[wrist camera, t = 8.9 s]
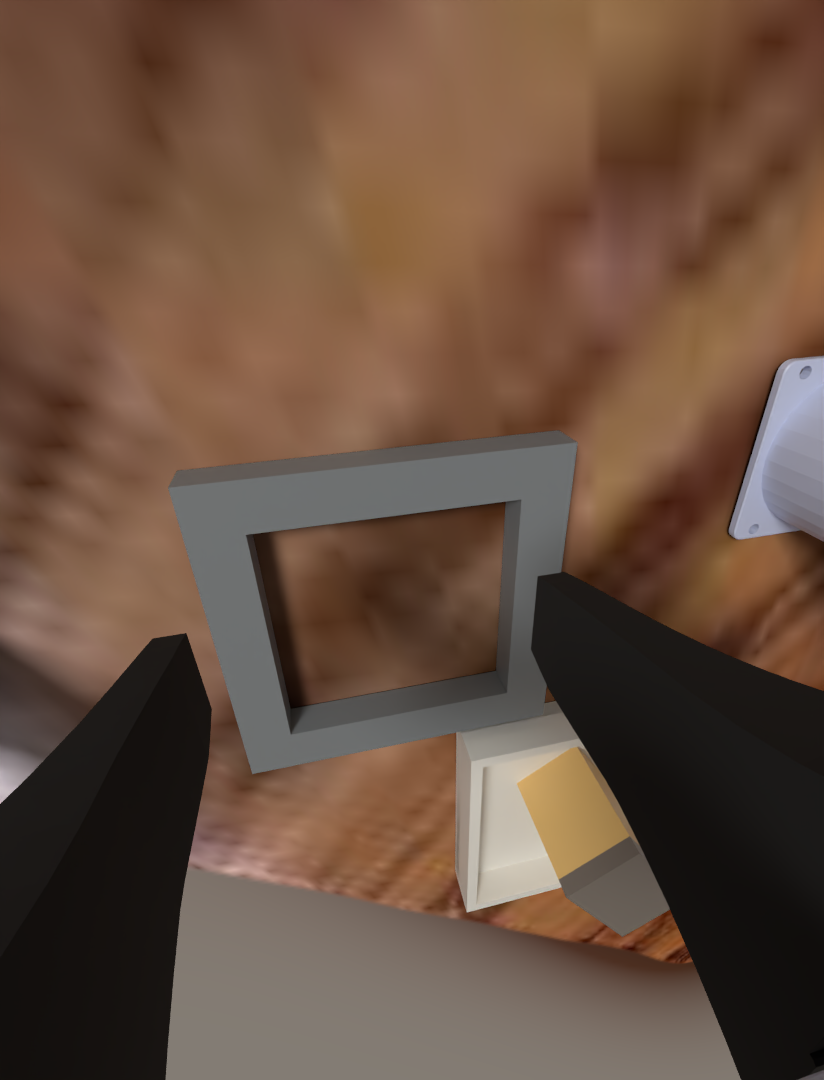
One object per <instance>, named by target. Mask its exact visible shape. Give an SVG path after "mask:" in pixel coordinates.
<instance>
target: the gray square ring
mask: <svg viewBox="0 0 824 1080" xmlns="http://www.w3.org/2000/svg"><path fill="white" fill-rule="evenodd" d="M577 443H578V442H576V441H575V440H573V439H571V438H570V437H568V436H567V435H565V434H564V433H562V432H560V431H559V430H558V431H548V432H539V433H529V434H520V435H510V436H501V437H492V438H482V439H473V440H463V441H454V442H444V443H435V444H426V445H416V446H407V447H397V448H388V449H378V450H369V451H359V452H350V453H341V454H331V455H322V456H312V457H303V458H293V459H284V460H275V461H265V462H256V463H246V464H237V465H227V466H218V467H209V468H199V469H190V470H180V471H177V472H176V474H175V476H174V478H173V479H172V481H171V483H170V485H169V487H168V489H169V492H170V496H171V499H172V503H173V506H174V509H175V513H176V516H177V519H178V523H179V526H180V530H181V533H182V536H183V540H184V543H185V547H186V550H187V553H188V557H189V560H190V564H191V567H192V570H193V574H194V577H195V581H196V584H197V587H198V591H199V594H200V598H201V601H202V604H203V608H204V611H205V615H206V618H207V621H208V625H209V628H210V631H211V635H212V638H213V642H214V645H215V648H216V652H217V655H218V659H219V662H220V665H221V669H222V672H223V676H224V679H225V682H226V686H227V689H228V693H229V696H230V699H231V703H232V706H233V710H234V713H235V716H236V720H237V723H238V726H239V730H240V733H241V737H242V740H243V743H244V747H245V750H246V754H247V757H248V760H249V764H250V767H251V771H252V774H254V773H259V772H264V771H269V770H274V769H279V768H284V767H289V766H294V765H299V764H304V763H309V762H313V761H318V760H323V759H328V758H333V757H338V756H343V755H348V754H353V753H358V752H363V751H367V750H372V749H377V748H382V747H387V746H392V745H397V744H402V743H407V742H412V741H417V740H421V739H426V738H431V737H436V736H441V735H446V734H451V733H456V732H461V731H466V730H471V729H476V728H480V727H485V726H490V725H495V724H500V723H505V722H510V721H515V720H520V719H525V718H530V717H534V716H539V715H543V711H544V703H545V695H546V687H547V684H546V682H545V680H544V678H543V676H542V674H541V672H540V669H539V667H538V665H537V662H536V660H535V658H534V656H533V653H532V651H531V642H532V631H533V620H534V610H535V599H536V588H537V578H538V576H542V575H548V574H554V573H560V572H561V569H562V561H563V553H564V545H565V538H566V530H567V522H568V514H569V506H570V498H571V490H572V483H573V475H574V467H575V459H576V451H577ZM498 502H506V507H505V524H504V541H503V558H502V575H501V592H500V609H499V626H498V643H497V660H496V671H492V672H487V673H482V674H476V675H471V676H465V677H460V678H455V679H449V680H444V681H438V682H433V683H428V684H422V685H417V686H412V687H406V688H401V689H395V690H390V691H385V692H379V693H374V694H368V695H363V696H358V697H352V698H347V699H341V700H336V701H331V702H325V703H320V704H314V705H309V706H304V707H298V708H293V709H291V708H290V704H289V699H288V695H287V690H286V685H285V681H284V676H283V672H282V667H281V662H280V658H279V653H278V649H277V644H276V639H275V635H274V630H273V625H272V621H271V616H270V612H269V607H268V602H267V598H266V593H265V589H264V584H263V579H262V575H261V570H260V566H259V561H258V556H257V552H256V547H255V542H254V538H253V534H257V533H264V532H272V531H280V530H288V529H296V528H303V527H311V526H319V525H327V524H335V523H342V522H350V521H358V520H366V519H373V518H381V517H389V516H397V515H405V514H412V513H420V512H428V511H436V510H444V509H451V508H459V507H467V506H475V505H483V504H490V503H498Z"/></svg>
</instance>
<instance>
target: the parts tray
mask: <svg viewBox="0 0 824 1080" xmlns="http://www.w3.org/2000/svg"><path fill="white" fill-rule="evenodd" d="M574 747H578V748H579V749H580V750H581V751H582V752H583V753H584V754H585V755H586V756H587V757H588V759H589V760H590V761H591V762H592V763H593V764H594V765H595V766H596V764H595V763H594V761H593V760H592V758H591V756H590V755H589V753H588V752H587V750H586V749H585V747H584V745H583V744H582V742H581V741H580V739H579V737H578V736H577V734H576V733H575V731H574V729H573V728H572V726H571V725H570V723H569V722H568V720H567V718H566V717H565V715H564V713H563V712H562V710H561V709H560V707H559V705H558V704H557V702H556V701H553V702H548V703H544V711H543V715H539V716H534V717H530V718H525V719H520V720H515V721H510V722H505V723H500V724H495V725H490V726H485V727H480V728H476V729H471V730H466V731H461V732H456V842H455V871H456V875H457V879H458V882H459V886H460V889H461V893H462V897H463V900H464V904H465V908H466V911H467V912H470V911H474V910H478V909H482V908H485V907H489V906H493V905H497V904H500V903H504V902H508V901H512V900H516V899H519V898H523V897H527V896H531V895H534V894H538V893H542V892H546V891H550V890H553V889H557V888H561V887H562V886H561V884H560V882H559V880H558V877H557V875H556V873H555V870H554V868H553V866H552V863H551V861H550V859H549V857H548V854H547V852H546V850H545V847H544V845H543V843H542V841H541V838H540V836H539V834H538V831H537V829H536V827H535V824H534V822H533V820H532V818H531V815H530V813H529V811H528V808H527V806H526V804H525V802H524V799H523V797H522V795H521V792H520V790H519V788H518V785H517V783H518V782H520V781H521V780H523V779H524V778H526V777H527V776H529V775H530V774H532V773H533V772H535V771H536V770H538V769H540V768H541V767H543V766H544V765H546V764H547V763H549V762H550V761H552V760H553V759H555V758H556V757H558V756H559V755H561V754H563V753H564V752H566V751H567V750H569V749H570V748H574ZM596 767H597V766H596Z"/></svg>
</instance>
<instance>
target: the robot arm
mask: <svg viewBox="0 0 824 1080" xmlns="http://www.w3.org/2000/svg"><path fill="white" fill-rule="evenodd" d="M802 369H803V371H802V372H801V370H802ZM800 372H801V374H800ZM799 530H802V531H804V532H806V533H808V534H810V535H812V536H813V537H815V538H817V539H819V540H821V541H823V542H824V356H818V357H806V358H795V359H789V360H787V361H785V362H784V363H782V365H781V366H780V367H779V368H778V371H777V373H776V376H775V379H774V383H773V386H772V389H771V393H770V396H769V399H768V402H767V406H766V409H765V412H764V416H763V419H762V422H761V425H760V429H759V432H758V435H757V439H756V442H755V445H754V448H753V452H752V455H751V458H750V462H749V465H748V468H747V471H746V475H745V478H744V481H743V484H742V488H741V491H740V494H739V498H738V501H737V504H736V507H735V511H734V514H733V517H732V521H731V524H730V527H729V534H730V535H731V536H733V537H734V538H736V539H740V540H741V539H747V538H754V537H760V536H767V535H773V534H780V533H786V532H793V531H799ZM531 651H532V653H533V656H534V658H535V660H536V662H537V665H538V667H539V669H540V672H541V674H542V676H543V678H544V680H545V682H546V684H547V686H548V689H549V690H550V692H551V694H552V695H553V697H554V699H555V700H556V702H557V704H558V705H559V707H560V709H561V710H562V712H563V713H564V715H565V717H566V718H567V720H568V722H569V723H570V725H571V726H572V728H573V729H574V731H575V733H576V734H577V736H578V737H579V739H580V741H581V742H582V744H583V745H584V747H585V749H586V750H587V752H588V753H589V755H590V756H591V758H592V760H593V761H594V763H595V764H596V766H597V768H598V769H599V771H600V772H601V774H602V776H603V777H604V779H605V780H606V782H607V784H608V786H609V787H610V789H611V791H612V792H613V794H614V796H615V798H616V799H617V801H618V803H619V805H620V807H621V809H622V811H623V813H624V815H625V817H626V819H627V821H628V823H629V825H630V827H631V829H632V831H633V833H634V835H635V837H636V839H637V841H638V843H639V845H640V847H641V849H642V851H643V853H644V855H645V857H646V859H647V861H648V864H649V866H650V868H651V870H652V872H653V874H654V876H655V878H656V880H657V883H658V885H659V887H660V889H661V891H662V893H663V895H664V897H665V899H666V902H667V904H668V906H669V908H670V910H671V913H672V915H673V917H674V920H675V922H676V924H677V926H678V929H679V931H680V933H681V935H682V938H683V940H684V942H685V944H686V947H687V949H688V951H689V953H690V956H691V958H692V960H693V962H694V965H695V967H696V969H697V972H698V974H699V976H700V979H701V981H702V984H703V986H704V988H705V991H706V993H707V996H708V998H709V1001H710V1003H711V1005H712V1008H713V1010H714V1013H715V1015H716V1018H717V1020H718V1023H719V1025H720V1027H721V1030H722V1032H723V1035H724V1037H725V1039H726V1042H727V1045H728V1047H729V1050H730V1052H731V1055H732V1057H733V1060H734V1063H735V1065H736V1067H737V1070H738V1073H739V1075H740V1078H741V1080H824V691H822V690H819V689H816V688H813V687H810V686H807V685H804V684H801V683H798V682H795V681H792V680H789V679H787V678H784V677H781V676H779V675H776V674H773V673H770V672H768V671H765V670H763V669H760V668H758V667H756V666H753V665H751V664H748V663H746V662H743V661H741V660H738V659H736V658H733V657H731V656H728V655H726V654H724V653H722V652H719V651H717V650H715V649H713V648H710V647H708V646H706V645H704V644H702V643H700V642H698V641H696V640H693V639H691V638H689V637H687V636H685V635H683V634H681V633H679V632H677V631H675V630H673V629H671V628H669V627H667V626H665V625H663V624H661V623H659V622H657V621H655V620H653V619H651V618H649V617H648V616H646V615H644V614H642V613H640V612H638V611H636V610H634V609H633V608H631V607H629V606H627V605H625V604H623V603H622V602H620V601H618V600H616V599H614V598H613V597H611V596H609V595H607V594H605V593H604V592H602V591H600V590H598V589H596V588H594V587H593V586H591V585H589V584H587V583H585V582H583V581H582V580H580V579H578V578H576V577H574V576H572V575H570V574H568V573H565V572H560V573H554V574H548V575H542V576H538V578H537V588H536V599H535V610H534V620H533V631H532V642H531ZM211 711H212V709H211V706H210V703H209V700H208V697H207V694H206V691H205V688H204V685H203V682H202V679H201V676H200V673H199V670H198V667H197V664H196V661H195V658H194V655H193V652H192V649H191V646H190V643H189V640H188V637H187V634H186V633H185V634H178V635H172V636H166V637H160V638H154V639H152V640H151V641H150V642H149V644H148V645H147V646H146V647H145V648H144V649H143V650H142V651H141V653H140V654H139V655H138V656H137V657H136V659H135V660H134V661H133V662H132V663H131V664H130V666H129V667H128V668H127V669H126V670H125V672H124V673H123V674H122V675H121V676H120V677H119V679H118V680H117V681H116V682H115V683H114V684H113V686H112V687H111V688H110V689H109V690H108V691H107V693H106V694H105V695H104V696H103V697H102V698H101V699H100V701H99V702H98V703H97V704H96V705H95V706H94V707H93V709H92V710H91V711H90V712H89V713H88V714H87V715H86V717H85V718H84V719H83V720H82V721H81V722H80V723H79V724H78V725H77V727H76V728H75V729H74V730H73V731H72V732H71V733H70V734H69V735H68V736H67V737H66V738H65V739H64V740H63V741H62V742H61V743H60V744H59V745H58V746H57V747H56V749H55V750H54V751H53V752H52V753H51V754H50V755H49V756H48V757H47V758H46V759H45V760H44V761H43V762H42V763H41V764H40V765H39V766H38V767H37V768H36V769H35V771H34V772H33V773H32V774H31V775H30V776H29V777H28V778H27V779H26V780H25V781H24V782H23V783H22V784H21V785H20V786H19V787H18V788H16V789H15V790H14V791H13V792H12V793H11V794H10V795H9V796H8V797H7V798H6V799H5V800H4V801H3V802H2V803H1V804H0V1080H165V1077H166V1063H167V1048H168V1036H169V1024H170V1011H171V1000H172V988H173V976H174V966H175V956H176V946H177V936H178V926H179V916H180V907H181V901H182V895H183V888H184V882H185V877H186V872H187V867H188V862H189V856H190V851H191V846H192V841H193V836H194V831H195V826H196V821H197V816H198V811H199V806H200V801H201V796H202V790H203V785H204V780H205V775H206V769H207V764H208V758H209V745H210V730H211Z"/></svg>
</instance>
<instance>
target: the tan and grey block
mask: <svg viewBox="0 0 824 1080" xmlns="http://www.w3.org/2000/svg"><path fill="white" fill-rule="evenodd" d="M517 785H518V788H519V790H520V792H521V795H522V797H523V799H524V802H525V804H526V806H527V808H528V811H529V813H530V815H531V818H532V820H533V822H534V824H535V827H536V829H537V831H538V834H539V836H540V838H541V841H542V843H543V845H544V847H545V850H546V852H547V854H548V857H549V859H550V861H551V863H552V866H553V868H554V870H555V873H556V875H557V877H558V880H559V882H560V884H561V886H562V889H563V891H564V893H565V896H566V898H568V899H569V900H570V901H572V902H573V903H575V904H576V905H578V906H579V907H581V908H582V909H583V910H585V911H586V912H588V913H589V914H591V915H592V916H594V917H595V918H596V919H598V920H599V921H601V922H602V923H604V924H605V925H607V926H608V927H609V928H611V929H612V930H614V931H615V932H617V933H618V934H620V935H621V936H622V937H623V936H625V935H626V934H628V933H630V932H632V931H633V930H635V929H637V928H638V927H640V926H642V925H644V924H645V923H647V922H649V921H651V920H652V919H654V918H656V917H657V916H659V915H661V914H663V913H664V912H666V911H668V910H669V909H670V908H669V906H668V904H667V902H666V899H665V897H664V895H663V893H662V891H661V889H660V887H659V885H658V883H657V880H656V878H655V876H654V874H653V872H652V870H651V868H650V866H649V864H648V861H647V859H646V857H645V855H644V853H643V851H642V849H641V847H640V845H639V843H638V841H637V839H636V837H635V835H634V833H633V831H632V829H631V827H630V825H629V823H628V821H627V819H626V817H625V815H624V813H623V811H622V809H621V807H620V805H619V803H618V801H617V799H616V798H615V796H614V794H613V792H612V791H611V789H610V787H609V786H608V784H607V782H606V780H605V779H604V777H603V776H602V774H601V772H600V771H599V769H598V768H597V767H596V766H595V765H594V764H593V763H592V762H591V761H590V760H589V759H588V757H587V756H586V755H585V754H584V753H583V752H582V751H581V750H580V749H579V748H578V747H574V748H570V749H569V750H567V751H566V752H564V753H563V754H561V755H559V756H558V757H556V758H555V759H553V760H552V761H550V762H549V763H547V764H546V765H544V766H543V767H541V768H540V769H538V770H536V771H535V772H533V773H532V774H530V775H529V776H527V777H526V778H524V779H523V780H521V781H520V782H518V783H517Z"/></svg>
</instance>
